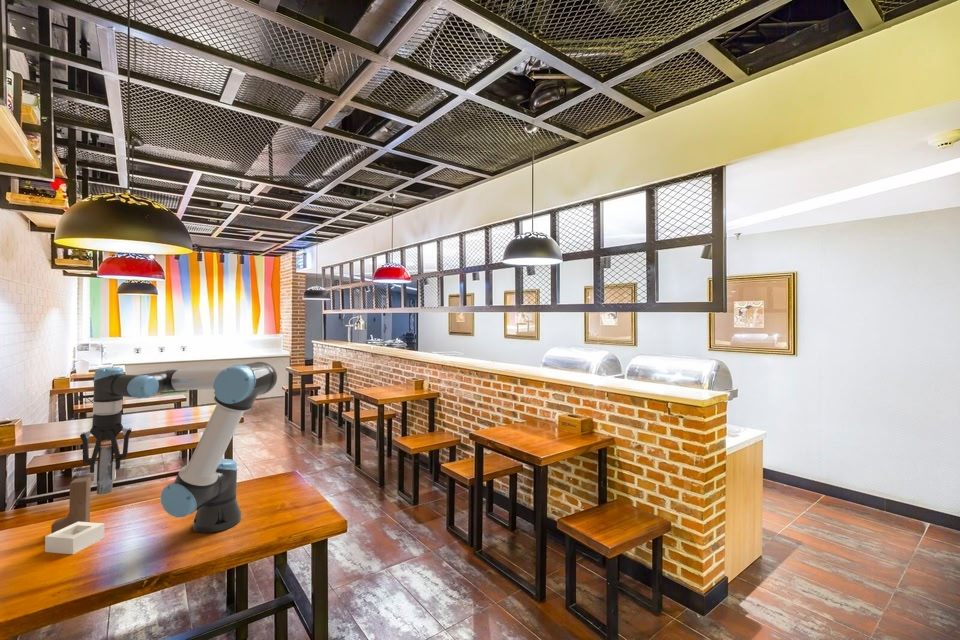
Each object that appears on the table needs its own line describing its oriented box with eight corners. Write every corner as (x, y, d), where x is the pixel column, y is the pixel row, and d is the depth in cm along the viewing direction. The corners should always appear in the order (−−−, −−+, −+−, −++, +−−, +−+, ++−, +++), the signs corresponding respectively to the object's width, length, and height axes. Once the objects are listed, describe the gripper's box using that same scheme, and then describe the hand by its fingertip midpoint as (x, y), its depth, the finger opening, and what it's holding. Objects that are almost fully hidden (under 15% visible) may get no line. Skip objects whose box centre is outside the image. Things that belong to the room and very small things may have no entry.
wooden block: (50, 538, 143) (51, 485, 143) (56, 531, 147) (57, 480, 147) (85, 532, 147) (86, 480, 147) (90, 526, 151) (91, 476, 151)
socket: (104, 538, 144) (104, 523, 144) (73, 554, 134) (73, 538, 134) (77, 536, 145) (78, 521, 145) (45, 552, 135) (45, 536, 135)
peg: (113, 488, 148) (115, 441, 148) (111, 493, 145) (113, 444, 145) (97, 491, 146) (99, 443, 146) (95, 495, 142) (97, 446, 142)
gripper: (139, 408, 153) (137, 472, 153) (75, 412, 143) (73, 481, 143) (138, 412, 147) (135, 479, 147) (71, 417, 137) (68, 489, 137)
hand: (104, 480), depth 145 cm, fingers closed on peg, 4 cm apart
